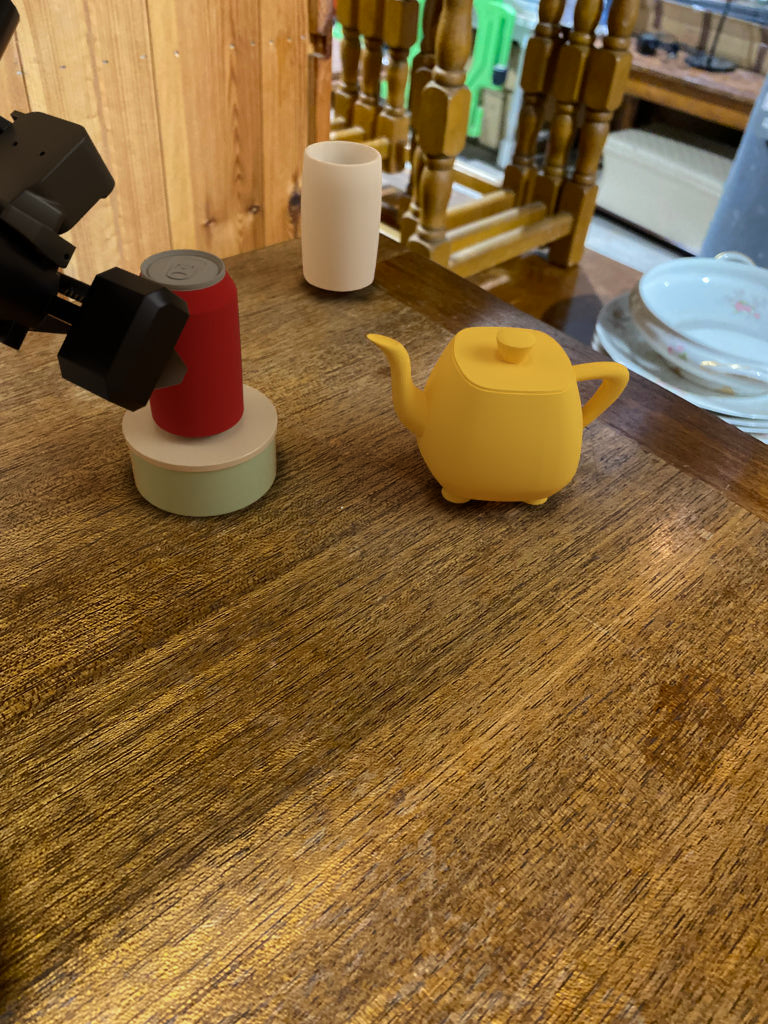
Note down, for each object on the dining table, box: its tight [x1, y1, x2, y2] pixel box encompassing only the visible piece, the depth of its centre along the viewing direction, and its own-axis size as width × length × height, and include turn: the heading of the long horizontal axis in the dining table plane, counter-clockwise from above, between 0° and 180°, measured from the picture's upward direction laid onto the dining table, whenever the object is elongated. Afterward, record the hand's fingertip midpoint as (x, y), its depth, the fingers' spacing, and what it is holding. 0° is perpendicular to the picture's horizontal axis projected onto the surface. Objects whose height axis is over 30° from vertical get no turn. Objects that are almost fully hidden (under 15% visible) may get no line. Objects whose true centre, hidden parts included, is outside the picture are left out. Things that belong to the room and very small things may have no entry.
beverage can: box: [138, 248, 244, 438], centre depth 54 cm, size 7×7×12 cm
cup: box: [300, 140, 383, 292], centre depth 83 cm, size 8×8×14 cm
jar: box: [121, 383, 279, 518], centre depth 60 cm, size 11×11×5 cm
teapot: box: [366, 326, 630, 506], centre depth 60 cm, size 13×20×12 cm
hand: (128, 350), depth 49 cm, fingers open, 9 cm apart
